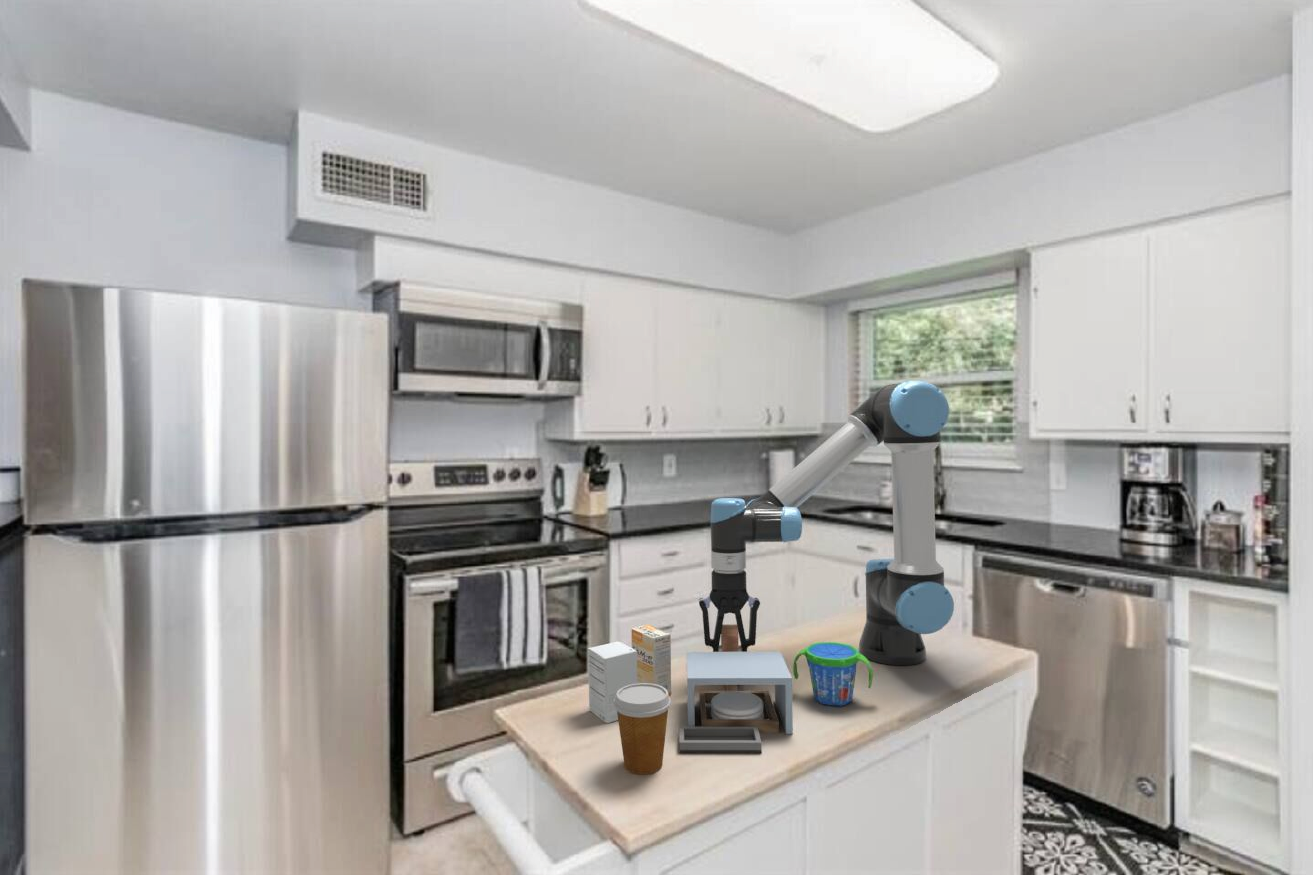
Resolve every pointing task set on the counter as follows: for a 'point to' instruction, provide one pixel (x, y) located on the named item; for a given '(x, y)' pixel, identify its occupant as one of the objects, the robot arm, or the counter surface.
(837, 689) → the snack cup
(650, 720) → the disposable coffee cup
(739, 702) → the round grey tin
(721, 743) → the tray
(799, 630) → the counter surface
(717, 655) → the tunnel
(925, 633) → the robot arm
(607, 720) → the supplement box
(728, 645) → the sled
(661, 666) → the supplement box
